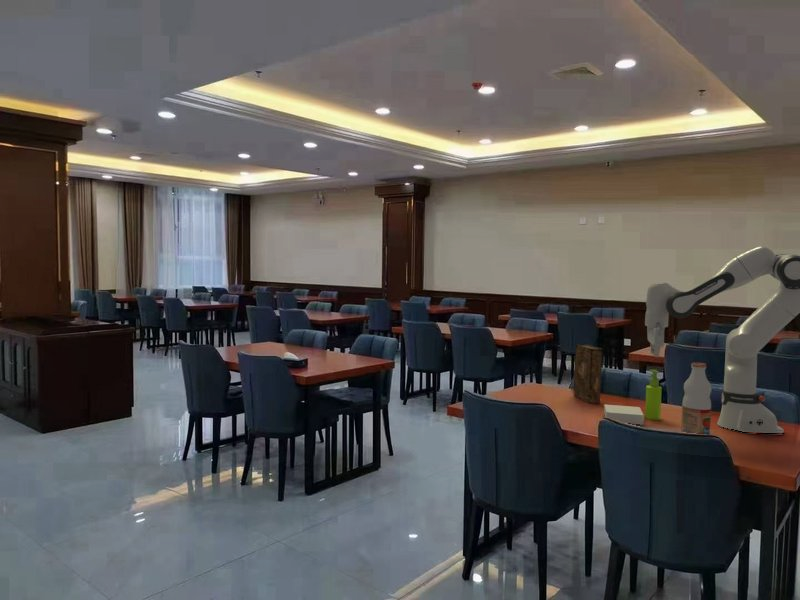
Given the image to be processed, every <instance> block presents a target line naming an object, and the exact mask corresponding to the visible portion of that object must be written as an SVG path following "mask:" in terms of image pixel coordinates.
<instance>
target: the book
mask: <svg viewBox="0 0 800 600" xmlns="http://www.w3.org/2000/svg"><path fill="white" fill-rule="evenodd" d="M574 355H575V356H574V376H573V377H574V378H573V379H574V380H573V396H574V397H576V398H578V397H579V398H578V399H580V398H581V399H580V400H582V399H583V400H582V401H584V400H585V401H584V402H586V401H587V402H586V403H588V402H589V403H588V404H593V403H597V404H601V384H602V383H601V382H602V365H603V364H602V362H603V361H602V359H603V348H601V347H597V346H593V345H590V344H584V345H583V344H575V353H574Z"/></svg>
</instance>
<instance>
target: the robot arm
mask: <svg viewBox="0 0 800 600" xmlns="http://www.w3.org/2000/svg"><path fill="white" fill-rule="evenodd" d="M766 275H771V276H772V277H773V278H774V279H776V280H777V281H778V282H780V283H779V284H780V285H779V287H778V289H777V290H776V292H774V293H773V294H772V295H771V296H770V297H769V298H767V300H766V301H764V302H763V303H762V304H761V305H760V306H759V307H757V308H756V310H755V311H753V312H752V313H751V315H749V316H748V317H747V318H746V319H745V320H744V322H743V323H741V324H740V325H739V327H736V328H734V329H732V330H731V331H730V332H729V333H728V334H727V336H726V338H725V353H724V354H725V361H724V375H723V376H724V377H723V378H724V379H723V389H722V391H721V404H722V405H721V411H720V413H719V414H720V415H719V418H718V419H717V420H718V421H717V424H716V425H717V426H718V427H721V428H723V427H724V429H727V428H728V429H727V430H731V429H734V430H733V431H735V430H738V431H742V432H762V433H783V432H785V431H784V430H785V429H783V428H782V427H781V426H779V425H778V420H777V417H776V415H775V414H774V413H773V412H772V411H771V410H770V409H768V408H767V407H766V406H764V404H762V402H765V401H766V398H765V396H764V395H760V394H759V393H757V391H756V390H757V380H758V379H757V378H758V377H757V376H758V375H757V374H758V370H757V369H758V353H759V352H760V351H761V350H762V349H763V348H765V346H766V345H767V344H768V343H769V342H770V341H771V340H773V338H774V337H775V336H776V335H777V334H778V333H779V332H780V331H781V330H782V329H784V328H785V327H786V326H787V325H788V324H789V323H790V322H791V321H792V320H794V319H795V317H797V316H798V315H799V314H800V255H799V254H793V253H786V254H785V253H783V254H775V253H774V252H773V250H772V249H770V248H768V247H766V246H763V245H762V246H757V247H755V248H752V249H748V250H746V251H745V252H743V253H740V254H739V255H737V256H734V257H733V258H732V259H730V260H729V261H727V262H726V263H725V264H723V265H722V266H721V267H720V268H719V269H718V270H717V271H716V273H715V274H714V275H713V276H711V277H710V278H709V279H708V280H706V281H704V282H703V283H701V284H699V285H697V286H696V287H694V288H692V289H689V290H686V291H683V290H680V289H677V288H676V287H673V286H672V285H671V284H670V283H667V282H661V283H660V282H659V283H653V284H651V285H650V286H649V287H648V289H647V292H646V299H645V305H646V311H645V317H644V326H646V327H647V328H646V332H647V333H646V334H647V335H646V336H647V341H648V342H649V343H650V345H649V346H650V353H651V355H652V354H653V357H654V358H660V353H661V352H660V351H661V348H664V345H665V328H668V327H669V319H670V318H669V316H672V317H674V318H675V319H685V318H688V317H689V316H691V315H692V314H693V312H695V310H696V308H697V307H698V306H700V305H701V304H702V303H704V302H706V301H708V300H710V299H711V298H713V297H715V296H717V295H719V294H720V293H723V292H726V291H730V290H733V289H737V288H740V287H742V286H745V285H747V284H749V283H751V282H753V281H755V280H757V279H758V278H760V277H762V276H766ZM738 431H737V432H738ZM742 432H741V433H742Z"/></svg>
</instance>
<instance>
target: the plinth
mask: <svg viewBox="0 0 800 600" xmlns="http://www.w3.org/2000/svg"><path fill="white" fill-rule="evenodd" d="M603 407H604V408H603V416H604V415H605V416H604V418H610V419H614V420H618V421H621V422H627V423H631V424H630V425H636V424H640V425H639V426H644V423H645V422H644V420H645V419H644V418H645V414H644V413H643V411H642V409H641V407H639V406H631V405H630V406H629V405H615V404H605V403H604V404H603Z"/></svg>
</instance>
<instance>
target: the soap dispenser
mask: <svg viewBox="0 0 800 600" xmlns="http://www.w3.org/2000/svg"><path fill="white" fill-rule="evenodd" d="M648 372H652V373H651V374H652V376H651V377H650V378H649V385H646V387H645V409H644V411H645V412H644V418H646V419H648V420H653V421H657V420H659V421H660V420H661V414H662V413H661V412H662V411H661V409H662V391H663V390H662V387H661V386H659V383H660V382H659V381H660V379H659V378H658V374H659V371H658V370H657V369H648Z"/></svg>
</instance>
